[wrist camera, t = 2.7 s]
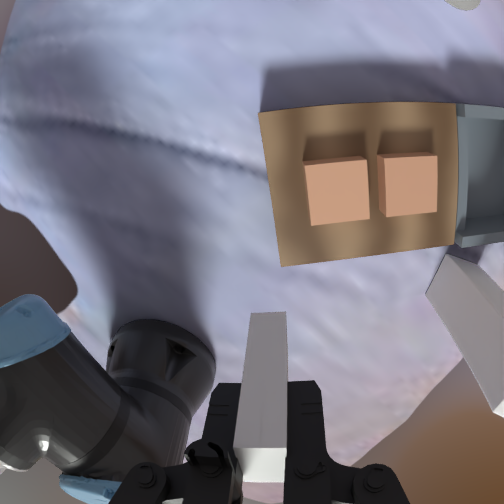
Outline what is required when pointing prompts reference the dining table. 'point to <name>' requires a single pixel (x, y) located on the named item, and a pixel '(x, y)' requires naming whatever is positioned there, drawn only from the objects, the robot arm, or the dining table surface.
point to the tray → (480, 175)
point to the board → (368, 146)
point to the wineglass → (464, 4)
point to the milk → (473, 321)
